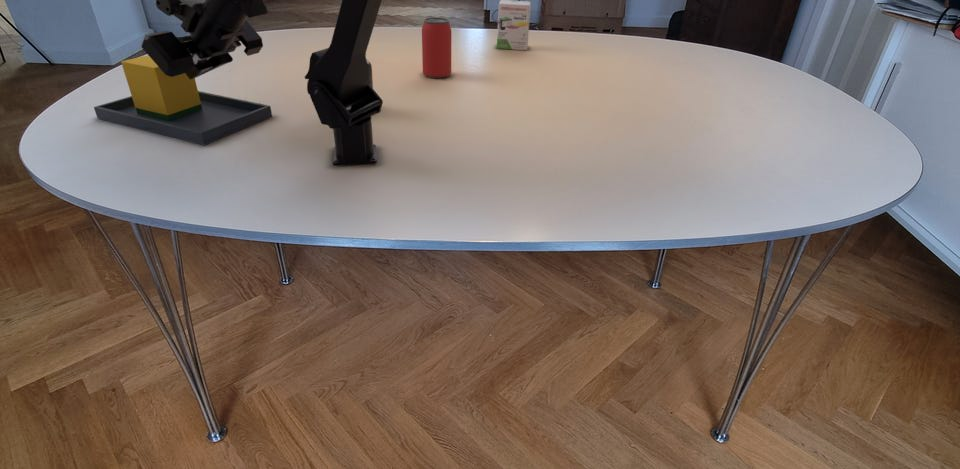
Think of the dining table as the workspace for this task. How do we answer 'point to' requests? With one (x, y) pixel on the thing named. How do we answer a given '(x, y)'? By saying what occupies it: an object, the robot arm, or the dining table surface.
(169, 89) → the sponge
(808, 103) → the dining table surface
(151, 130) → the tray
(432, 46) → the beer can
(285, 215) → the dining table surface
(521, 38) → the ink box
